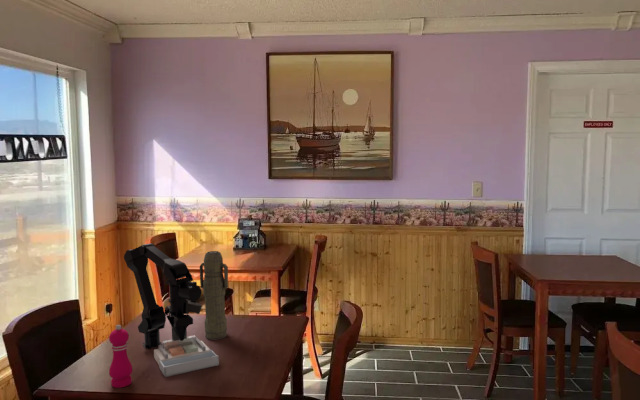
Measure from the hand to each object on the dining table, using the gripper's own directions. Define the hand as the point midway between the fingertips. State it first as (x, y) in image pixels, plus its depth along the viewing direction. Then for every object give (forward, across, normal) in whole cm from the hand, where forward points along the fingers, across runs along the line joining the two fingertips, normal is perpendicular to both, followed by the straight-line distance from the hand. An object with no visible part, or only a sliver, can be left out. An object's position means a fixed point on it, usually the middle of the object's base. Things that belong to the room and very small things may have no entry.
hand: (179, 337), depth 199 cm
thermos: (+7, +12, -18) cm, 23 cm away
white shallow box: (+7, -3, 0) cm, 7 cm away
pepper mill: (+7, -14, +23) cm, 28 cm away
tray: (+7, -13, 0) cm, 14 cm away
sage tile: (+4, -5, -2) cm, 7 cm away
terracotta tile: (+4, -5, +2) cm, 7 cm away
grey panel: (+4, 0, 0) cm, 4 cm away
